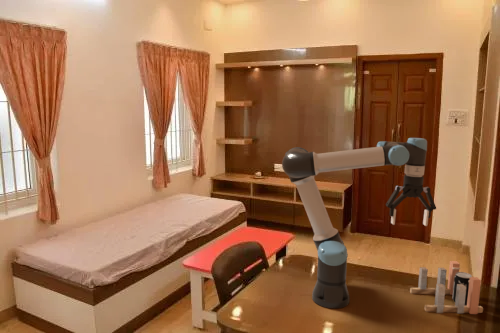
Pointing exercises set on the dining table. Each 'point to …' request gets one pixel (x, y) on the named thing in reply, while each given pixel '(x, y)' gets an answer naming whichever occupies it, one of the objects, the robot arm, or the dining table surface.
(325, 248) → the robot arm
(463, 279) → the beverage can
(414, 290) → the oak channel
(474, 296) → the terracotta aperture
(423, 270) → the steel collars
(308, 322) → the dining table surface
